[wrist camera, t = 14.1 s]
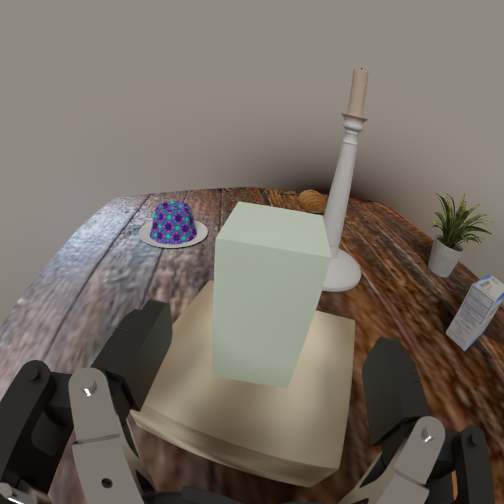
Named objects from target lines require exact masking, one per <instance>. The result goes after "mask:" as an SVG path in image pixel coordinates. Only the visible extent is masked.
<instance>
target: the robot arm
mask: <svg viewBox="0 0 504 504" xmlns="http://www.w3.org/2000/svg"><path fill="white" fill-rule="evenodd" d="M172 336H173V330H172V320H171V310H170V305H169V303H165V302H161V301H157V300H152V299H150V300H148V301H147V303H146V304H145V306H144V307H143V309H142V310H137V309H135V310H133V311H132V312H130V313H129V314H127V315H126V316H125V317H124V318H123V319H122V321H121V322H120V324H119V325H118V328H116V330H115V331H114V332H113V335H112V336H111V337H110V338H109V340H108V341H107V343H106V344H105V346H104V347H103V349H102V350H101V352H100V353H99V355H98V357H97V358H96V360H95V361H94V363H93V364H92V365H91V367H88V368H82V369H80V370H78V371H76V372H75V373H74V374H64V373H56V372H51V371H50V369H49V368H48V366H47V365H46V364H45V363H44V362H42V361H39V360H33V361H29V362H27V363H26V364H24V365H23V366H22V368H21V369H20V371H19V372H18V374H17V375H16V377H15V378H14V380H13V382H12V383H11V385H10V387H9V388H8V390H7V391H6V393H5V395H4V397H3V398H2V400H1V402H0V504H52V502H51V500H50V498H49V497H48V496H47V495H48V492H49V489H50V486H51V483H52V480H53V478H54V475H55V472H56V470H57V467H58V464H59V462H60V459H61V457H62V454H63V452H64V449H65V447H66V445H67V442H68V440H69V438H70V435H71V433H72V431H73V428H75V433H76V442H74V443H73V446H72V449H73V455H74V460H75V464H76V468H77V471H78V475H79V478H80V482H81V485H82V488H83V491H84V494H85V497H86V500H87V503H88V504H244V503H241V502H238V501H236V500H233V499H230V498H228V497H225V496H223V495H221V494H218V493H213V492H208V491H203V490H199V489H195V488H191V487H187V486H183V490H165V491H159V492H158V491H157V489H156V487H155V485H154V483H153V480H152V478H151V476H150V474H149V472H148V470H147V468H146V466H145V465H144V463H143V461H142V458H141V456H140V453H139V451H138V448H137V445H136V443H135V440H134V437H133V434H132V431H131V428H130V425H129V422H128V419H127V416H128V414H129V412H130V410H131V409H132V410H135V411H137V412H140V411H141V409H142V406H143V404H144V402H145V400H146V397H147V395H148V393H149V391H150V388H151V386H152V384H153V382H154V380H155V377H156V375H157V373H158V371H159V369H160V367H161V364H162V362H163V360H164V358H165V356H166V354H167V351H168V349H169V347H170V345H171V341H172ZM417 373H418V372H417V369H416V365H415V362H414V361H413V359H412V358H411V357H410V355H409V354H408V353H407V352H403V349H402V346H401V343H400V341H399V339H397V338H384V337H380V338H379V339H378V340H377V342H376V343H375V345H374V347H373V349H372V350H371V352H370V354H369V355H368V357H367V359H366V360H365V362H364V365H363V369H362V379H363V386H364V392H365V399H366V406H367V414H368V422H369V431H370V440H371V446H380V445H381V447H382V451H381V452H380V453H379V454H378V455H377V457H376V458H375V460H374V461H373V463H372V464H371V466H370V467H369V469H368V470H367V472H366V473H365V474H364V476H363V477H362V478H361V480H360V481H359V483H358V484H357V485H356V486H355V488H354V489H353V490H352V491H351V492H350V493H348V494H347V495H346V496H345V497H344V498H343V499H342V500H341V501H340V502H339V503H338V504H495V496H494V486H493V478H492V470H491V464H490V458H489V453H488V448H487V443H486V439H485V435H484V433H483V431H482V430H481V429H480V428H479V427H477V426H475V425H470V426H468V427H466V428H465V429H464V430H463V431H461V432H456V431H451V430H446V429H444V427H443V425H442V423H441V422H440V421H439V420H438V419H436V418H434V417H431V416H430V413H429V409H428V405H427V402H426V398H425V395H424V391H423V388H422V384H421V383H420V378H419V375H417ZM455 470H456V477H457V487H458V495H457V498H456V499H455V501H454V498H453V484H452V474H451V472H453V471H455ZM109 487H110V488H109ZM324 503H325V502H288V503H282V504H324Z"/></svg>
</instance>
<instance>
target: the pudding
mask: <svg viewBox="0 0 504 504" xmlns="http://www.w3.org/2000/svg"><path fill="white" fill-rule="evenodd" d="M150 231H151V233H150ZM196 231H197V232H196ZM149 233H150V236H149ZM196 234H197V236H196V237H195V238H194V239H193V236H195V235H196ZM207 234H208V230H207V228H206V226H205V225H203V224H202V223H200V222H198V221H196V220H194V219H193V215H192V210H191V208H190V207H189V206H188V205H187V204H186V203H184V202H179V201H173V202H164V203H162V204H159V205H158V206H157V207H156V210H155V214H154V218H153V221H151V222H148V223H146V224H145V225H143V226H142V227H141V229H140V230H139V236H140V238H141V239H142V240H143V241H144V242H146V243H148V244H150V245H153V246H157V247H164V248H178V247H185V246H190V245H193V244H196V243H198V242H200V241H202V240H203V239H204V238H205V237H206V236H207ZM150 237H151V238H152V239H156V242H155V241H153V240H152V239H151V238H150ZM192 239H193V240H192ZM191 240H192V241H191ZM188 241H189V242H188ZM182 242H187V243H183V244H181V243H182ZM161 243H162V244H161ZM164 243H169V244H177V245H167V244H164Z"/></svg>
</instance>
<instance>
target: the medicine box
mask: <svg viewBox="0 0 504 504" xmlns="http://www.w3.org/2000/svg"><path fill="white" fill-rule="evenodd" d="M503 298H504V285H503V284H502V283H501V282H500V281H498V280H497V279H496V278H494V277H493V276H491V275H487V276H486V277H484V278H482V279H481V280H479V281H477V282H476V283H473V284H472V286H471V288H470V290H469V292H468V294H467V295H466V297H465V299H464V301H463V303H462V305H461V307H460V309H459V310H458V312H457V314H456V316H455V317H454V319H453V321H452V322H451V324H450V326H449V328H448V329H447V331H446V335H447V336H448V337H449V338H450V339H451V340H452V341H453V342H455V343H456V344H457V345H458V346H459V347H460V348H461V349H462V350H463V351H466V350H467V349H468V348H469V347H470V346H471V345H472V344H473V343H474V342H475V341H476V340H477V339H478V338H479V336H480V335H481V334H482V333H483V332H484V330H485V329H486V327H487V326H488V324H489V322H490V321H491V319H492V317H493V316H494V314H495V312H496V311H497V309H498V307H499V305H500V304H501V302H502V300H503Z"/></svg>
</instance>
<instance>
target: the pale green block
mask: <svg viewBox="0 0 504 504" xmlns="http://www.w3.org/2000/svg"><path fill="white" fill-rule="evenodd" d="M331 258H332V257H331V252H330V248H329V243H328V238H327V233H326V229H325V224H324V220H323V216H322V215H316V214H311V213H305V212H300V211H294V210H288V209H282V208H276V207H270V206H263V205H257V204H251V203H244V202H238V203H237V205H236V207H235V208H234V210H233V211H232V213H231V214H230V216H229V218H228V219H227V221H226V222H225V224H224V226H223V227H222V229H221V231H220V232H219V234H218V235H217V237H216V245H215V266H214V293H213V333H212V375H215V376H220V377H224V378H229V379H234V380H239V381H244V382H250V383H256V384H261V385H268V386H274V387H281V388H288V385H289V383H290V380H291V378H292V375H293V372H294V370H295V367H296V364H297V362H298V359H299V356H300V354H301V351H302V348H303V345H304V343H305V340H306V337H307V334H308V331H309V328H310V325H311V322H312V319H313V317H314V313H315V310H316V307H317V304H318V301H319V298H320V295H321V292H322V288H323V285H324V282H325V278H326V275H327V272H328V268H329V265H330V261H331Z"/></svg>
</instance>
